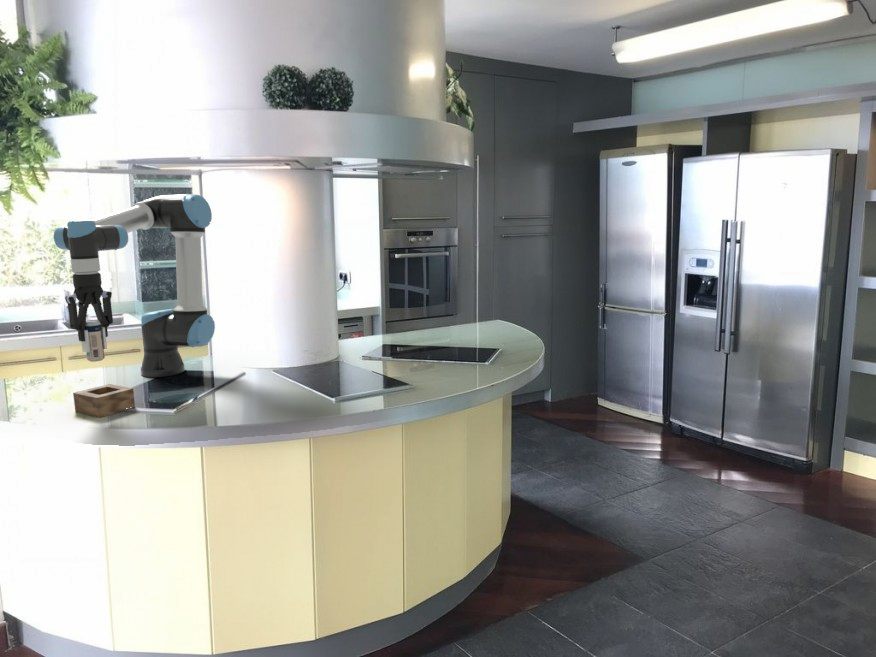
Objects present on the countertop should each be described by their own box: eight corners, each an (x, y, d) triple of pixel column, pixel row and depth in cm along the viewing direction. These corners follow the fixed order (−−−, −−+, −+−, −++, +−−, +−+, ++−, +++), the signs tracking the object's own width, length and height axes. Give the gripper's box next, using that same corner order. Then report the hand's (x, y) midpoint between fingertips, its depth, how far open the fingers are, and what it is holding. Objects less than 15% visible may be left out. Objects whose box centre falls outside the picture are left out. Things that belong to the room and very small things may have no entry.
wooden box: (111, 402, 228) (109, 383, 227) (135, 407, 221) (133, 388, 220) (75, 412, 218) (73, 392, 217) (99, 417, 211) (97, 398, 210)
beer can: (108, 358, 219) (104, 320, 216) (97, 362, 214) (92, 322, 212) (95, 358, 220) (90, 319, 218) (83, 361, 215) (79, 322, 213)
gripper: (106, 269, 221) (114, 343, 226) (49, 275, 207) (59, 354, 211) (121, 270, 217) (129, 345, 222) (64, 276, 203) (73, 357, 207)
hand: (94, 349), depth 216 cm, fingers closed on beer can, 5 cm apart
